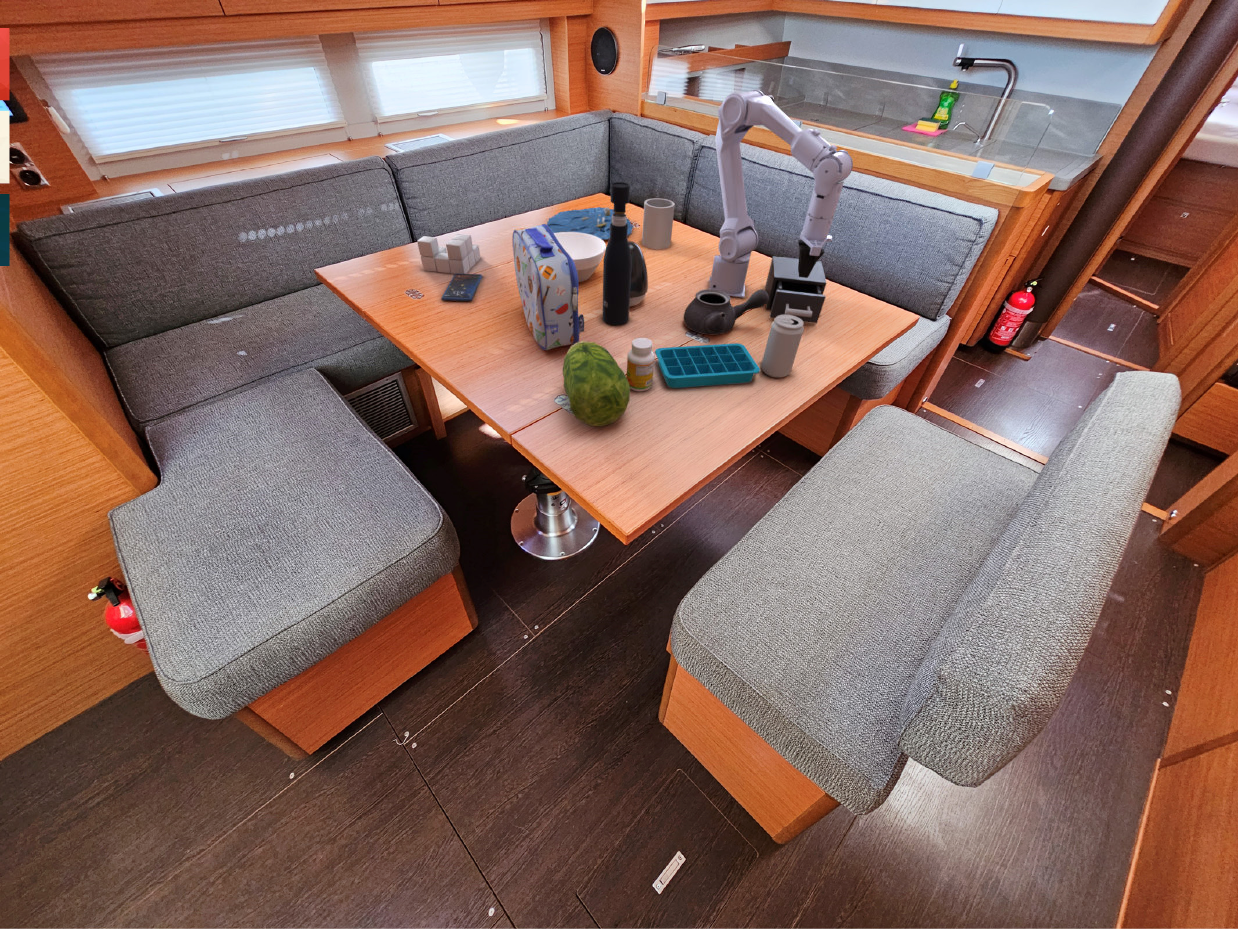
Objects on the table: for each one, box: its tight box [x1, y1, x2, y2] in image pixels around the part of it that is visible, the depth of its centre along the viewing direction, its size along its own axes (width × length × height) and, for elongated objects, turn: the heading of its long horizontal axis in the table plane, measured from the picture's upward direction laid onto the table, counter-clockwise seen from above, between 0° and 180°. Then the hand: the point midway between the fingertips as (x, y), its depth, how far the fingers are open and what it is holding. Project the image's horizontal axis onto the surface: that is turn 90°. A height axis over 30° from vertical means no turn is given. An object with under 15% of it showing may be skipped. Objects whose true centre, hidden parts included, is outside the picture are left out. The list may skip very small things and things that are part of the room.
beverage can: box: [760, 315, 805, 379], centre depth 107 cm, size 6×6×12 cm
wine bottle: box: [601, 181, 632, 327], centre depth 115 cm, size 6×6×30 cm
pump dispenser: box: [628, 240, 649, 307], centre depth 127 cm, size 10×10×15 cm
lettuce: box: [562, 340, 631, 427], centre depth 97 cm, size 12×21×11 cm, turn 16°
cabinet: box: [764, 255, 827, 311], centre depth 133 cm, size 14×13×9 cm
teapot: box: [683, 288, 769, 336], centre depth 120 cm, size 19×15×10 cm
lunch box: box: [512, 223, 585, 351], centre depth 113 cm, size 28×10×22 cm, turn 22°
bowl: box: [554, 231, 607, 283], centre depth 140 cm, size 20×19×8 cm
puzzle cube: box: [416, 233, 482, 275], centre depth 142 cm, size 12×12×8 cm
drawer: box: [769, 281, 826, 324], centre depth 127 cm, size 17×11×7 cm
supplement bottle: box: [625, 337, 656, 392], centre depth 102 cm, size 5×5×10 cm
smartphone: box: [440, 273, 483, 302], centre depth 134 cm, size 8×1×15 cm
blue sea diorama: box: [546, 206, 634, 240], centre depth 169 cm, size 30×30×5 cm
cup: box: [641, 197, 676, 250], centre depth 158 cm, size 9×9×12 cm
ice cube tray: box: [654, 342, 761, 389], centre depth 109 cm, size 12×20×3 cm, turn 100°
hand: (802, 274), depth 123 cm, fingers closed
